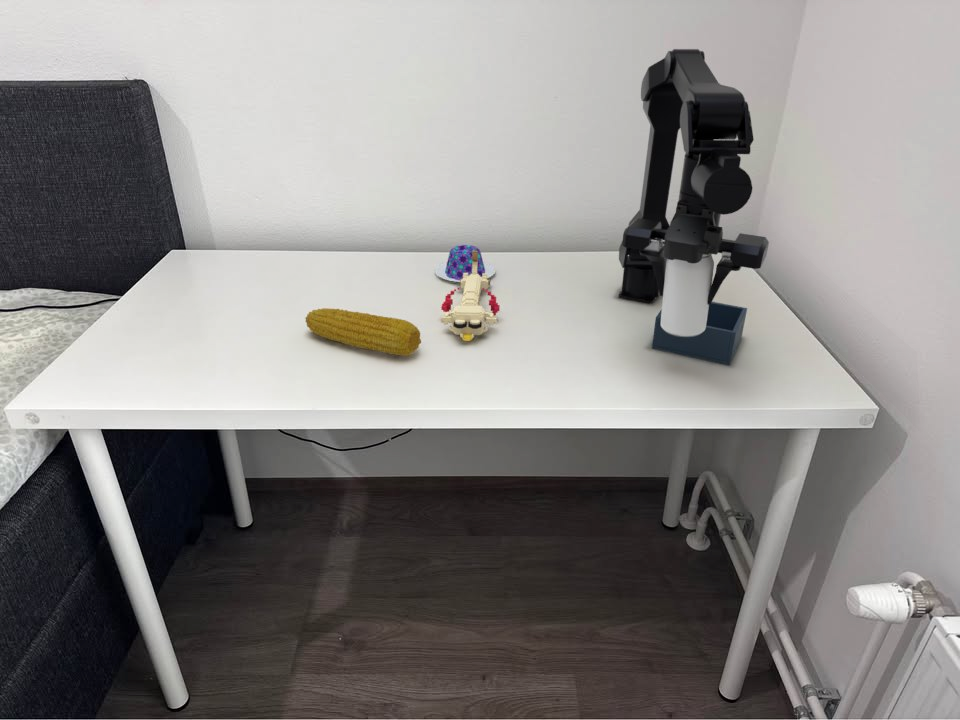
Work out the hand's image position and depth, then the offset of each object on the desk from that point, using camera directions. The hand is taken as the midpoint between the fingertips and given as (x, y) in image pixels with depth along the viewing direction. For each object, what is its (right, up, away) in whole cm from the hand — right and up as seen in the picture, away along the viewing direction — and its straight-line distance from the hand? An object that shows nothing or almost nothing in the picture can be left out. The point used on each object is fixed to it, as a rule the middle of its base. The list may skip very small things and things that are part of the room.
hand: (685, 299), depth 101 cm
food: (-49, -7, +13) cm, 51 cm away
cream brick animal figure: (-31, -1, +24) cm, 39 cm away
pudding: (-32, +8, +40) cm, 52 cm away
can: (0, -4, +2) cm, 5 cm away
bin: (+6, -6, +14) cm, 16 cm away
